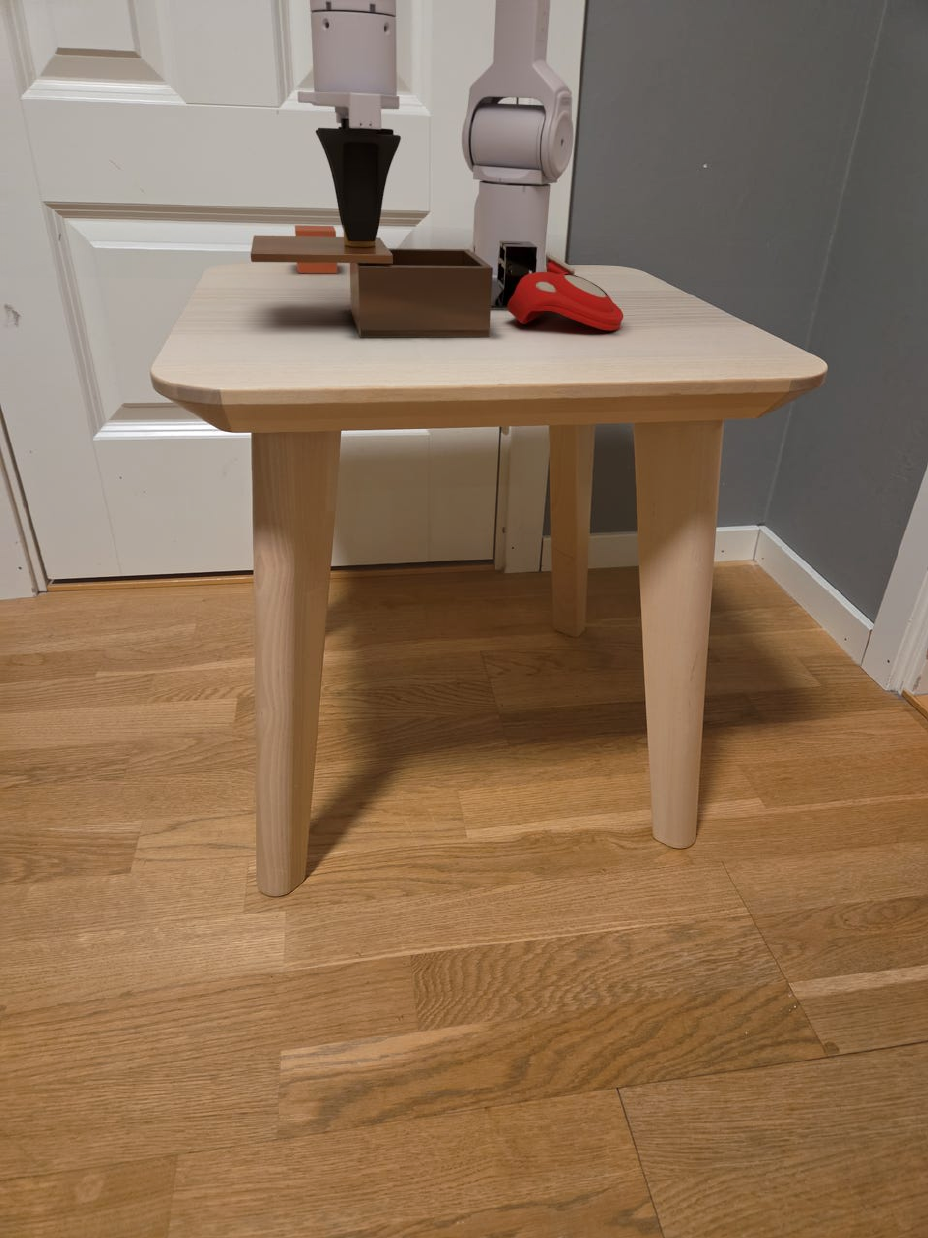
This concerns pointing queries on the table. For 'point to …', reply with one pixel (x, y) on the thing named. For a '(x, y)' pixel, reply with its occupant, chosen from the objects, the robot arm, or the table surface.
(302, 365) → the table surface
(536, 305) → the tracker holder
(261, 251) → the slide lid
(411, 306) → the walnut box
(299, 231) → the terracotta block
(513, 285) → the black rack
